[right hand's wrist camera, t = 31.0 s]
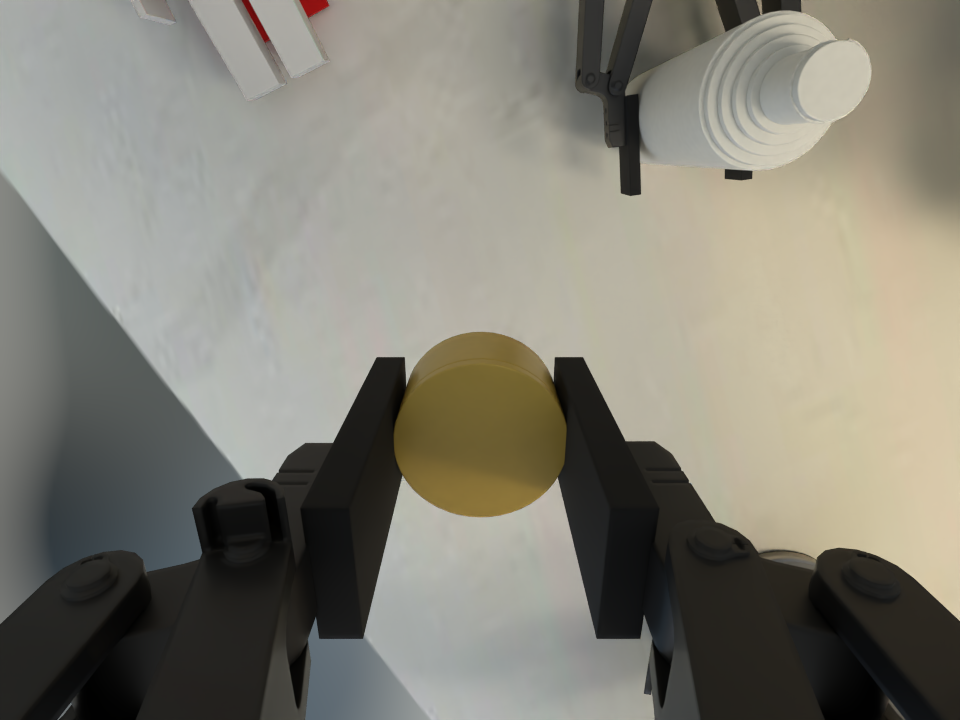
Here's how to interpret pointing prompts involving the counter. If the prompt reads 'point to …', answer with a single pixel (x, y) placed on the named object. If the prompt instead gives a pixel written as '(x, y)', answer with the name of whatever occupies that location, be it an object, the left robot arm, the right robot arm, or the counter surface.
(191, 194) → the counter surface
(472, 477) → the cap
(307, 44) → the toy
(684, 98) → the bottle
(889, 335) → the counter surface
